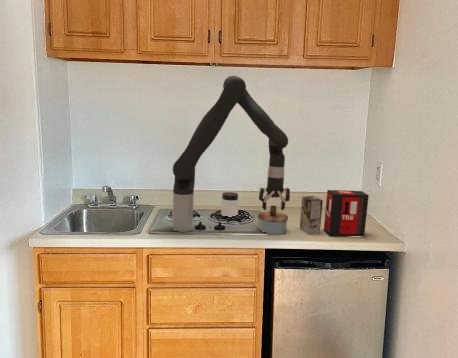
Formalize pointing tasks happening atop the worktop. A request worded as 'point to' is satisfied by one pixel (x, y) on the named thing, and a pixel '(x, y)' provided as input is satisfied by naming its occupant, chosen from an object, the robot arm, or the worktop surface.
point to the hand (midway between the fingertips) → (273, 209)
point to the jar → (229, 204)
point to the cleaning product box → (345, 213)
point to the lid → (273, 216)
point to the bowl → (272, 227)
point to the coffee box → (311, 214)
